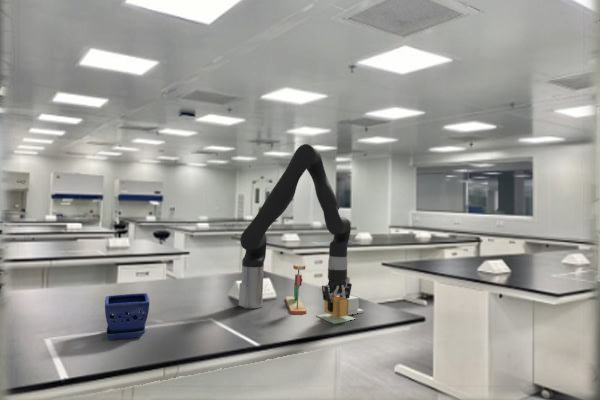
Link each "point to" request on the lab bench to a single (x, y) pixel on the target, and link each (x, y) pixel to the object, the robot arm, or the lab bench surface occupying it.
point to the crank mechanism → (296, 294)
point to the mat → (335, 318)
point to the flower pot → (126, 315)
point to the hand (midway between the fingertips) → (336, 310)
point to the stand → (353, 303)
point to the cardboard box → (338, 306)
